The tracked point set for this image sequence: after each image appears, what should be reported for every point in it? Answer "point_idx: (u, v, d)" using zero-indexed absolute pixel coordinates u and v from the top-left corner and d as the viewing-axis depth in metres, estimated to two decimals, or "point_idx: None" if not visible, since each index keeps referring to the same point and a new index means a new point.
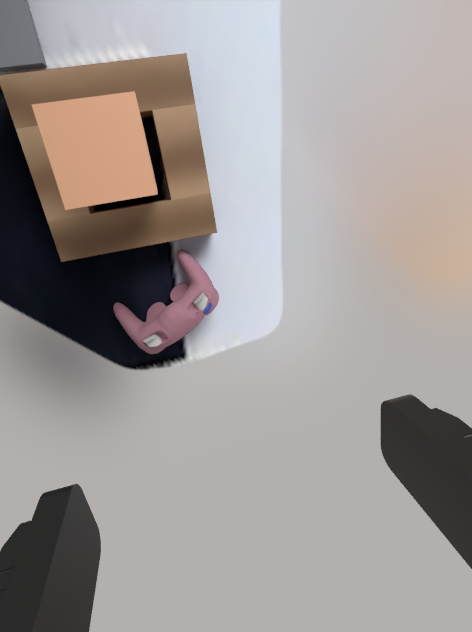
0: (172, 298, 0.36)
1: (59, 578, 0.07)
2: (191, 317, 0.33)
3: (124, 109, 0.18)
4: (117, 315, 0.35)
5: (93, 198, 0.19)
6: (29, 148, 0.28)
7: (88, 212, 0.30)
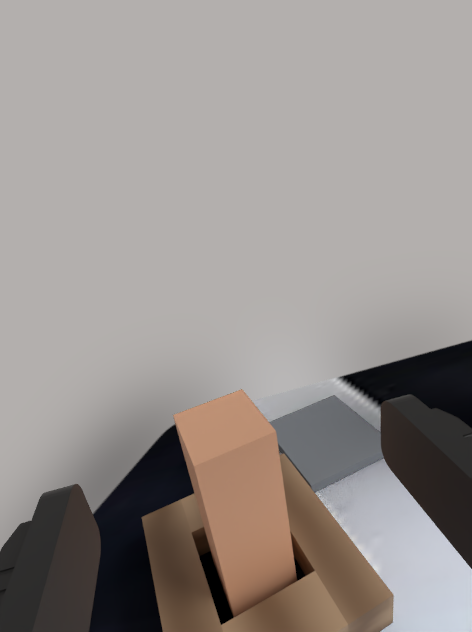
0: None
1: (59, 578, 0.07)
2: None
3: (259, 428, 0.21)
4: None
5: (184, 427, 0.22)
6: None
7: (192, 530, 0.29)
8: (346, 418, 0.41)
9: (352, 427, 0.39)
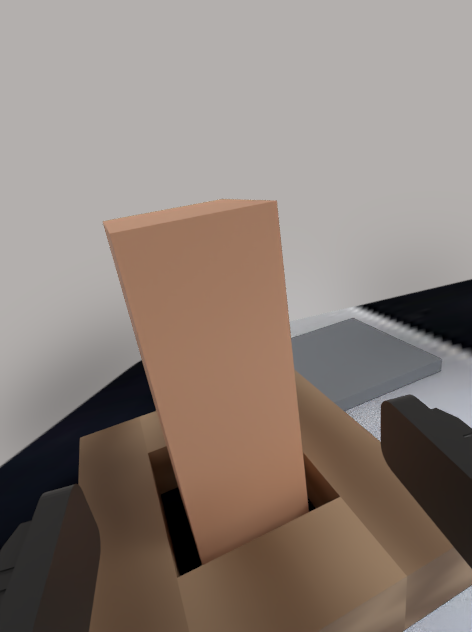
0: None
1: (59, 578, 0.07)
2: None
3: (246, 204, 0.11)
4: None
5: (114, 222, 0.13)
6: None
7: (150, 451, 0.19)
8: (371, 337, 0.31)
9: (380, 345, 0.29)
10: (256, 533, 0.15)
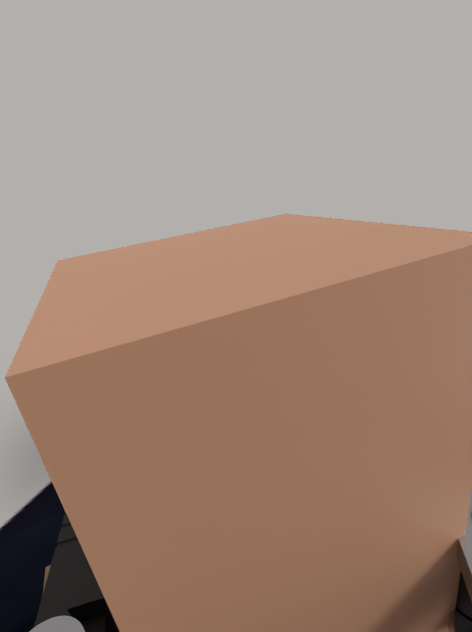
0: None
1: None
2: None
3: (405, 240, 0.04)
4: None
5: (74, 271, 0.06)
6: None
7: None
8: None
9: None
10: None
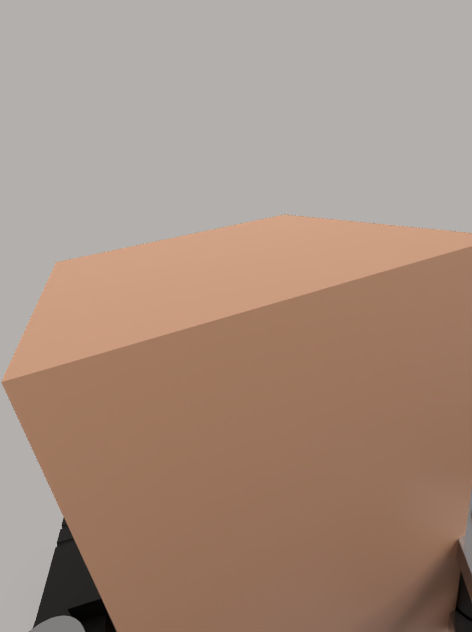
0: None
1: None
2: None
3: (403, 242, 0.04)
4: None
5: (72, 274, 0.06)
6: None
7: None
8: None
9: None
10: None
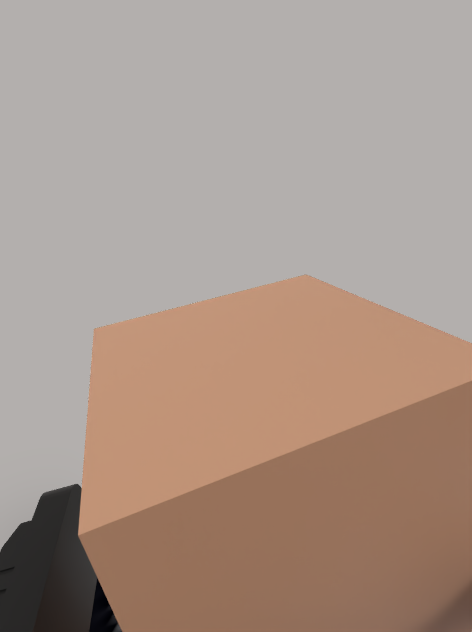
0: None
1: (59, 578, 0.07)
2: None
3: (422, 355, 0.05)
4: None
5: (113, 355, 0.06)
6: None
7: None
8: None
9: None
10: None
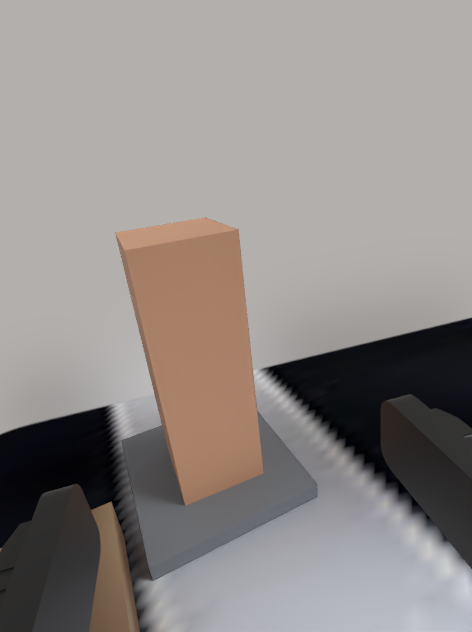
0: None
1: (59, 578, 0.07)
2: None
3: (218, 230, 0.16)
4: None
5: (125, 236, 0.18)
6: None
7: None
8: None
9: None
10: (221, 466, 0.21)
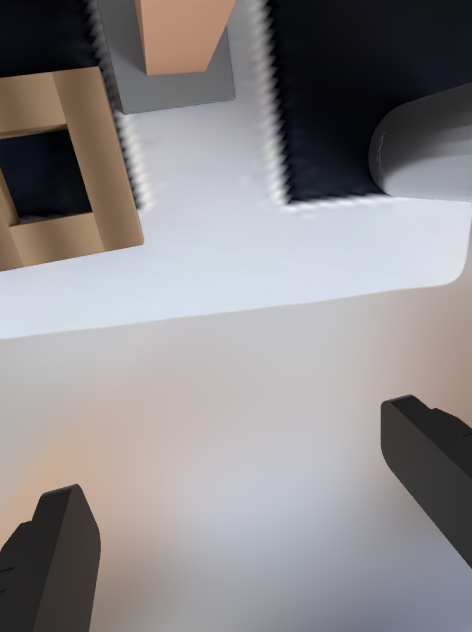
0: None
1: (59, 578, 0.07)
2: None
3: None
4: None
5: None
6: (33, 81, 0.27)
7: None
8: None
9: None
10: (177, 67, 0.29)
